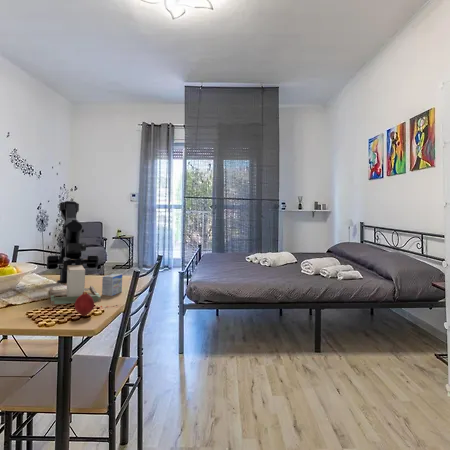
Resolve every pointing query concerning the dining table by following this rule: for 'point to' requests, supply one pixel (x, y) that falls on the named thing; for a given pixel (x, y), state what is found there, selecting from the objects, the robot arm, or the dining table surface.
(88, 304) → the onion
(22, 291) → the dining table surface
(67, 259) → the robot arm
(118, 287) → the medicine box
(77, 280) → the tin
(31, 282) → the dining table surface
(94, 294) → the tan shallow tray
